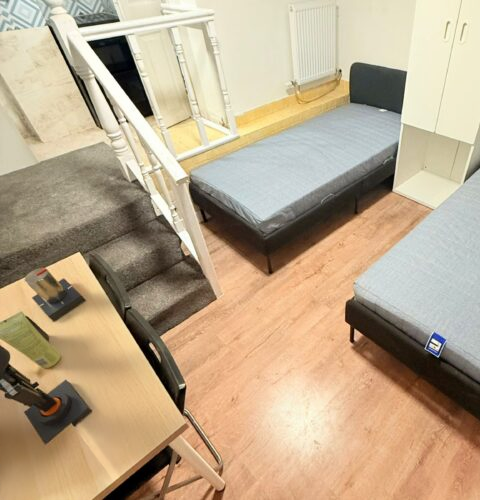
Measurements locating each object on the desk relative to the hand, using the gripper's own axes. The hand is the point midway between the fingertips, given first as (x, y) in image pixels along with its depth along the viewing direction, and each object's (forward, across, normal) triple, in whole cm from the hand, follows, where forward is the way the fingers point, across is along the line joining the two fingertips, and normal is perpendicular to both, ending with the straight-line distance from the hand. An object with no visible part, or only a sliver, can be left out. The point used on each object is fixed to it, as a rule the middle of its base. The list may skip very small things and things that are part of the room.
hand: (49, 405), depth 80 cm
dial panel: (+5, +36, -16) cm, 40 cm away
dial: (+2, +36, -16) cm, 39 cm away
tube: (+5, +17, -5) cm, 18 cm away
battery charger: (+5, +24, -5) cm, 25 cm away
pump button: (+2, 0, 0) cm, 2 cm away
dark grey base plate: (+5, 0, 0) cm, 5 cm away
